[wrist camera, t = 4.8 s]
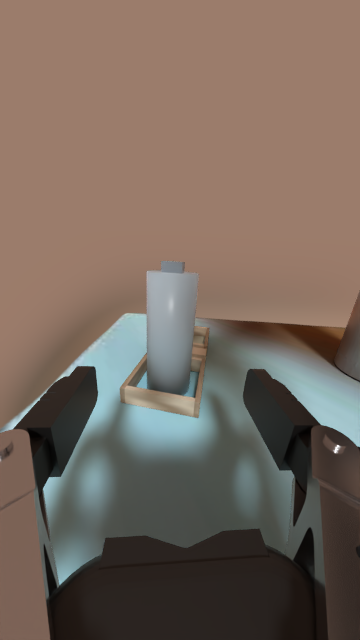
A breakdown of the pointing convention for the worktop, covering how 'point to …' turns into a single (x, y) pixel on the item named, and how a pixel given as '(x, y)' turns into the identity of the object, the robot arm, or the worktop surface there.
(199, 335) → the wooden organizer tray
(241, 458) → the worktop surface
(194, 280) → the grey cylindrical bottle
